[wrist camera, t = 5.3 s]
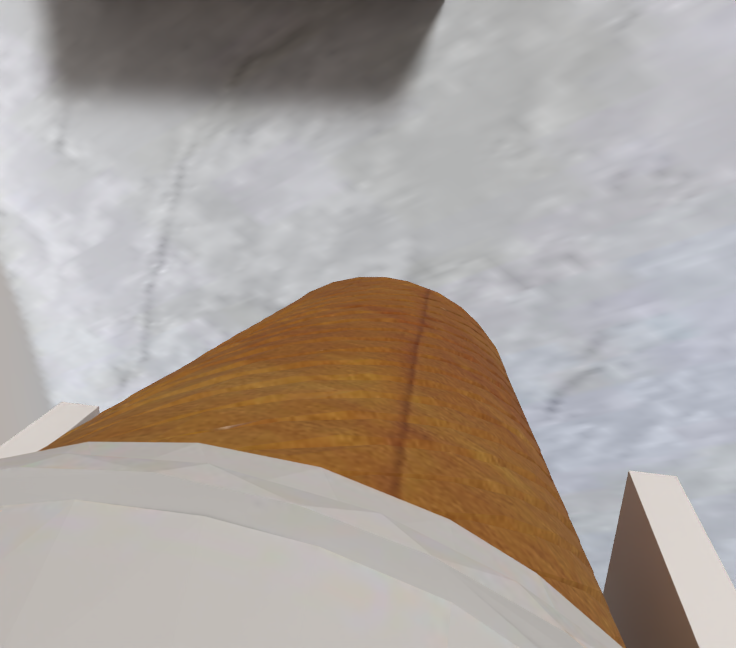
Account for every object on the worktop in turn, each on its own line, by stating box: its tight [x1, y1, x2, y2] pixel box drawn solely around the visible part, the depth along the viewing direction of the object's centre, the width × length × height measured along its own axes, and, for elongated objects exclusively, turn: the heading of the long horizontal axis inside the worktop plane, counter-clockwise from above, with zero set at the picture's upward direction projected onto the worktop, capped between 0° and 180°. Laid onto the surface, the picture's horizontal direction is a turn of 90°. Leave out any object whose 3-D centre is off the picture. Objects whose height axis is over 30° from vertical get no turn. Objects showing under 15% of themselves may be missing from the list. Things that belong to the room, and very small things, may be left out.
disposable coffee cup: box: [0, 277, 626, 648], centre depth 10 cm, size 10×10×12 cm
